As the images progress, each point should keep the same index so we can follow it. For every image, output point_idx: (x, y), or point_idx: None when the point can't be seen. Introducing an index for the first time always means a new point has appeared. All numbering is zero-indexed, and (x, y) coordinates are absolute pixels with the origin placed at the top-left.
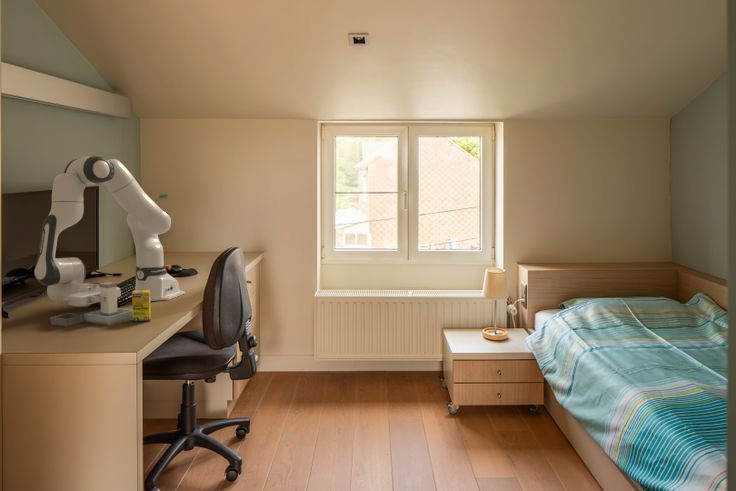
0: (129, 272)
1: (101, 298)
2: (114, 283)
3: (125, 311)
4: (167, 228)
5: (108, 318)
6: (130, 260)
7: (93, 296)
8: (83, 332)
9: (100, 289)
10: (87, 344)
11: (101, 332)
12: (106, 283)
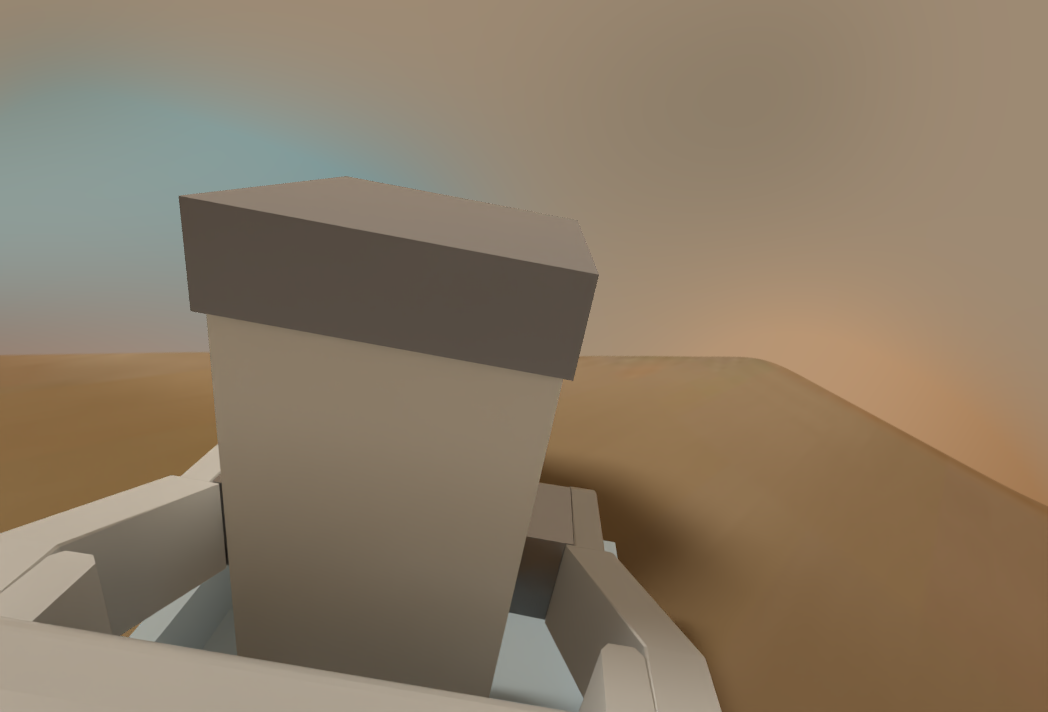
0: None
1: (594, 521)
2: (404, 187)
3: (209, 594)
4: None
5: (612, 552)
6: None
7: (678, 698)
8: (879, 664)
9: (549, 428)
10: (899, 484)
11: (750, 540)
12: (448, 220)
